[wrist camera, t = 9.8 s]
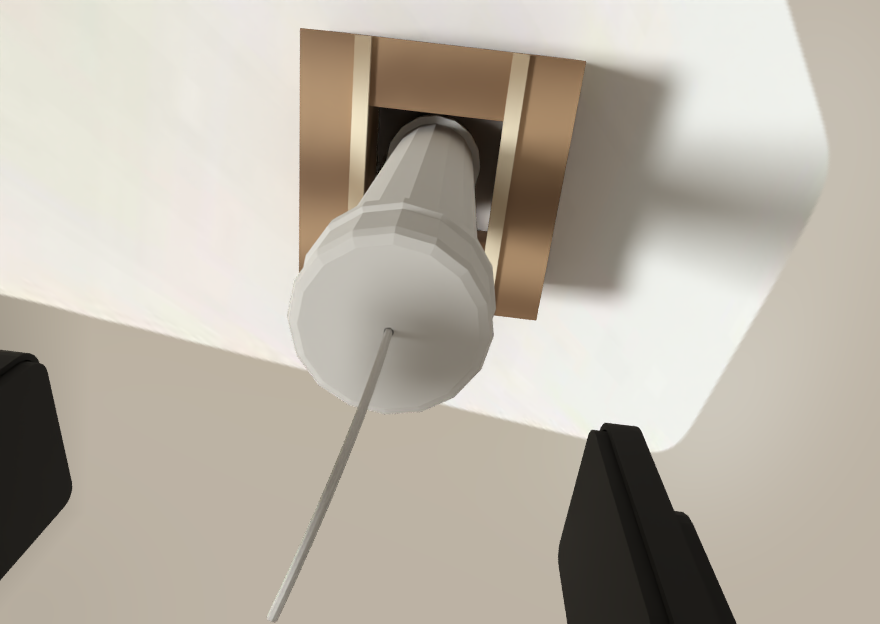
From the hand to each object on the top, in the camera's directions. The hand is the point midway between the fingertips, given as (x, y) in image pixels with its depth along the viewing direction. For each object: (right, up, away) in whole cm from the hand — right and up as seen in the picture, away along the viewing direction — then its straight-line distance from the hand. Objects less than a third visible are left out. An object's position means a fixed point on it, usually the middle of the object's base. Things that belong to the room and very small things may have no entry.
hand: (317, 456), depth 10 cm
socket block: (+2, +12, +27) cm, 29 cm away
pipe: (+2, +12, +27) cm, 29 cm away
